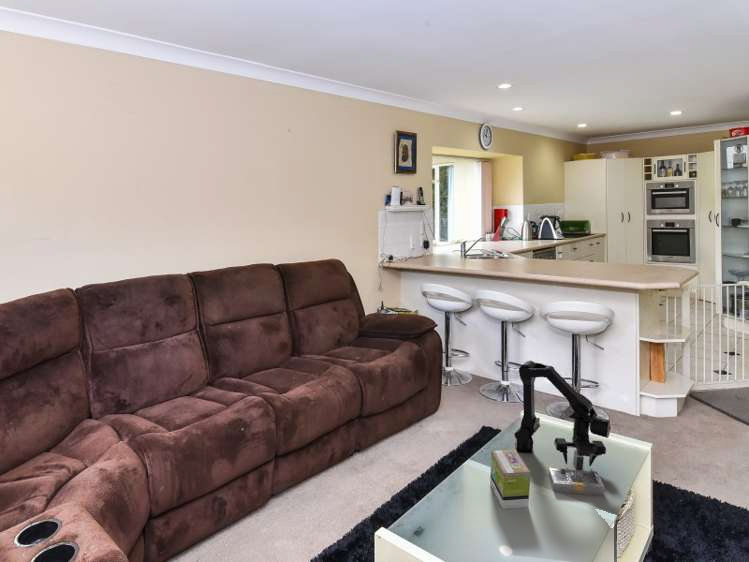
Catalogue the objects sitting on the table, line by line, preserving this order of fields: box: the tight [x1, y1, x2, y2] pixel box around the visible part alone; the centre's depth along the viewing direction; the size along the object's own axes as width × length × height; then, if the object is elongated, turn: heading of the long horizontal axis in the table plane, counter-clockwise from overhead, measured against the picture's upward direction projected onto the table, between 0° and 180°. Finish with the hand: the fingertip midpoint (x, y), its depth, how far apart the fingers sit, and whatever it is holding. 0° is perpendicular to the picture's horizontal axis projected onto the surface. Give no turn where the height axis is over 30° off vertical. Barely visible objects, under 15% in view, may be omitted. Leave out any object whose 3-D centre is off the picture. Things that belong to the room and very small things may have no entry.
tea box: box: [489, 448, 531, 510], centre depth 185 cm, size 15×10×15 cm, turn 5°
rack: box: [547, 467, 605, 496], centre depth 192 cm, size 18×10×4 cm, turn 82°
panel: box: [572, 449, 585, 471], centre depth 204 cm, size 2×5×6 cm, turn 172°
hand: (577, 464), depth 205 cm, fingers open, 9 cm apart
